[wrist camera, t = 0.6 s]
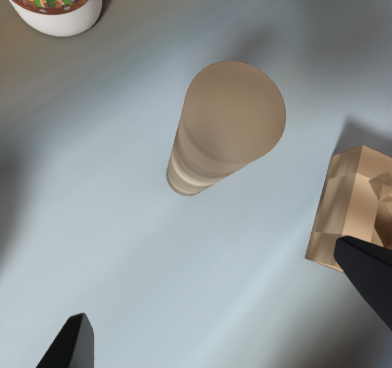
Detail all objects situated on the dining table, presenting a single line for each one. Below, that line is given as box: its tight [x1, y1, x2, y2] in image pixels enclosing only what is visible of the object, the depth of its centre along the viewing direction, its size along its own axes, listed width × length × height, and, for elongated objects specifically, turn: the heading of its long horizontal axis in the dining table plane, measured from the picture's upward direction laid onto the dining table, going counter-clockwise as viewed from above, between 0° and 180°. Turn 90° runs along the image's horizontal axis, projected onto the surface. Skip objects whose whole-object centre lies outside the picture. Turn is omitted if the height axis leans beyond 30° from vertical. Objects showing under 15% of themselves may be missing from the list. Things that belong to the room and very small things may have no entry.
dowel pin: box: [166, 61, 286, 196], centre depth 16 cm, size 4×4×14 cm
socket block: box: [305, 145, 392, 273], centre depth 23 cm, size 11×11×4 cm
